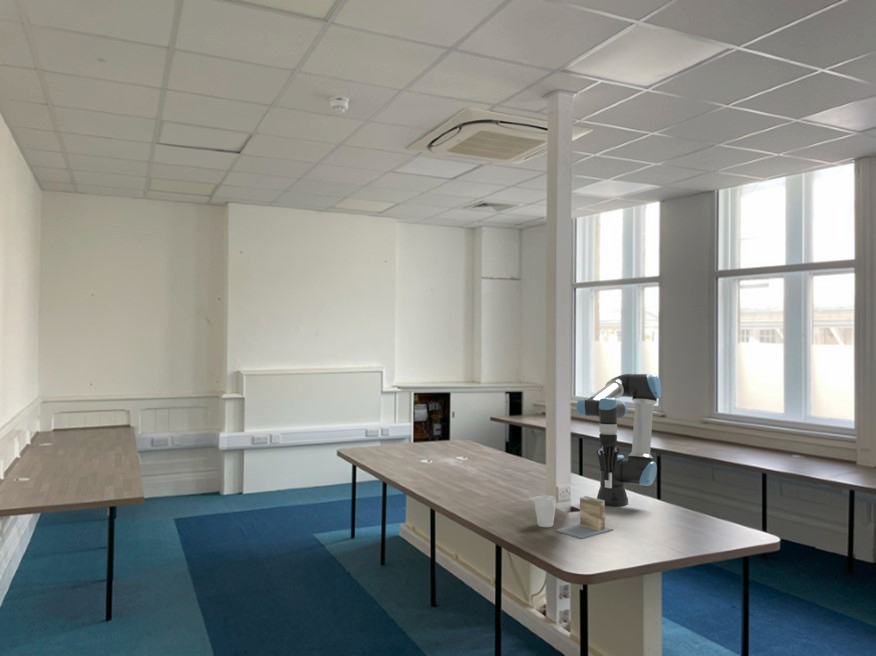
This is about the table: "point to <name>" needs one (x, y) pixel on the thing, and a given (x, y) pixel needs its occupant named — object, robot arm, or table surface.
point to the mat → (582, 531)
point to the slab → (592, 513)
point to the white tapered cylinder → (545, 510)
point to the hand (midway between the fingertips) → (608, 487)
